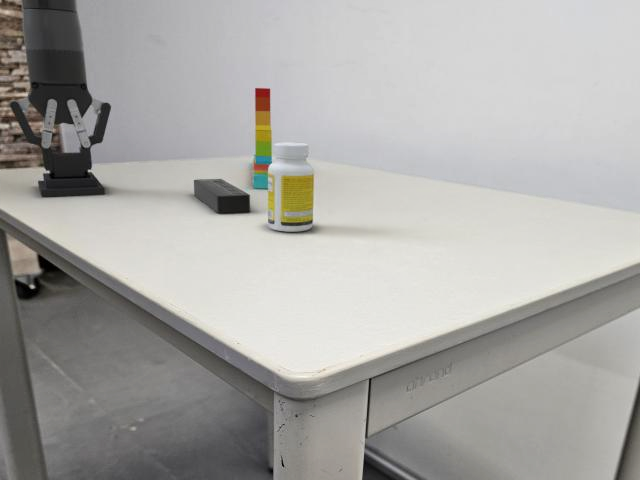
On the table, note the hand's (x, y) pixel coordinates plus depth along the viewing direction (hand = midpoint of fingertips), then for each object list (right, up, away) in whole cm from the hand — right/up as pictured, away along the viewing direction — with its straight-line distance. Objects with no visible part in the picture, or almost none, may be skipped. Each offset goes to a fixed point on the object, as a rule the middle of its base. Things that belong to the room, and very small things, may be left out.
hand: (69, 173), depth 94 cm
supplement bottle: (+34, -11, -17) cm, 40 cm away
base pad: (0, -2, +1) cm, 3 cm away
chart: (+26, +5, +22) cm, 35 cm away
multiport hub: (+23, -6, -4) cm, 24 cm away
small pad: (0, 0, 0) cm, 0 cm away
